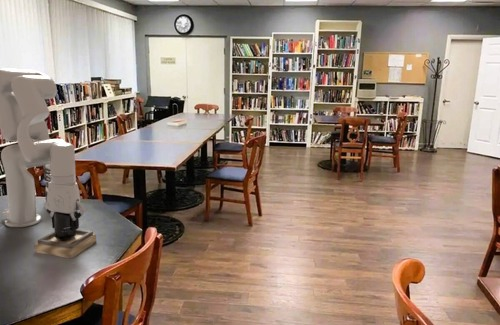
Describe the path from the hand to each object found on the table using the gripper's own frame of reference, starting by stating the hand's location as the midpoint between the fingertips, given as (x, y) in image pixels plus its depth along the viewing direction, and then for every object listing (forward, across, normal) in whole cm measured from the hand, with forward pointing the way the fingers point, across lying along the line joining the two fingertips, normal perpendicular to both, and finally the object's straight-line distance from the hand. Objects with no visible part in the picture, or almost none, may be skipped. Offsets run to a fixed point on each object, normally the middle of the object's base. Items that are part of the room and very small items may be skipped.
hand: (65, 227), depth 133 cm
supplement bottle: (+3, 0, 0) cm, 3 cm away
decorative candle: (+7, -32, +36) cm, 49 cm away
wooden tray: (+7, 0, 0) cm, 7 cm away
